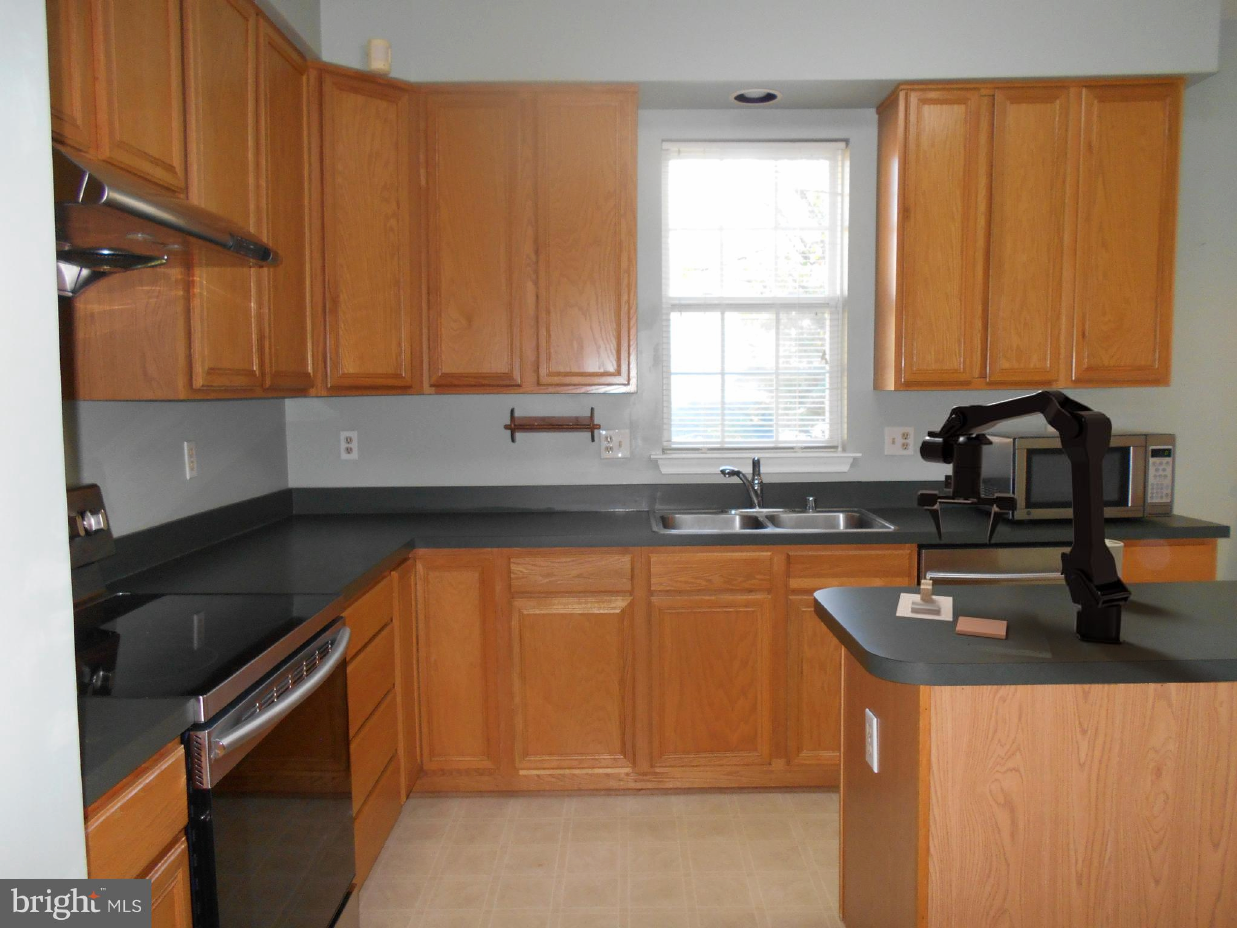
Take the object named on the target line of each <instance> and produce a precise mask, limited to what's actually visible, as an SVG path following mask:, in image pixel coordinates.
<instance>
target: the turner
mask: <svg viewBox="0 0 1237 928" xmlns="http://www.w3.org/2000/svg"><path fill="white" fill-rule="evenodd" d="M932 592H933V580H928V579H921V583H920V593H919V595H920V600H914V599H912V604H911V612H916V613H927V614H938V615H939V602H938V601H931V599H932V596H933V593H932Z"/></svg>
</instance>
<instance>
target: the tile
mask: <svg viewBox="0 0 1237 928" xmlns="http://www.w3.org/2000/svg"><path fill="white" fill-rule="evenodd" d="M1007 625H1008V622H1007V620H998V619H991V618H990V619H989V618H988V619H987V618H981V617H980V618H979V617H969V616H968V617H967V616H959V617H958V621H957V624H956V628H955V634H957V635H958V634H959V635H961V634H962V635H968V636H977V637H985V638H987V637H988V638H996V639H1001V640H1002V639H1003V640H1005V639H1006V636H1007V635H1006V633H1007Z"/></svg>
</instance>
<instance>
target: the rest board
mask: <svg viewBox="0 0 1237 928" xmlns="http://www.w3.org/2000/svg"><path fill="white" fill-rule="evenodd" d="M912 599H914V600H920V594H915V593H905V592H901V593H900V597H899V600H898V605H897V608H896V614H895V617H903V618H914V619H915V618H916V619H917V618H918V619H926V620H937V621H947V622H953V596H943V595H942V596H941V595H940V596H938V595H932V599H931V601H938V602H939V615H938V614H927V613H916V612H911V604H912Z"/></svg>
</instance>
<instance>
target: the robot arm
mask: <svg viewBox="0 0 1237 928" xmlns="http://www.w3.org/2000/svg"><path fill="white" fill-rule="evenodd" d="M1040 414H1042V416H1043V417H1044V419H1045V421H1046V422H1047V425H1049V426H1050V427H1051V428H1052V429H1054V430H1055V431H1057V432H1058V436H1059V441H1060V442H1059V443H1060V446H1061V449H1062V450H1063V452H1064V454H1065V456H1066V457H1067V459H1068V461H1069V462H1070V476H1071V478H1070V479H1071V481H1070V482H1071V503H1072V508H1071V509H1072V531H1073V543H1072V545H1071V547H1070V550H1067V551H1061V552H1060V561H1061V571H1060V576H1063V580H1064V583H1065V585H1066V586H1067V587H1068V590H1069V595H1070V598H1071V601H1072V602H1071V603H1072V604H1074V605H1075V604H1077V605H1078V607H1075V608H1074V621H1073V622H1074V623H1073V630H1074V633H1075V634H1076V635H1077V636H1078V638H1079V640H1080V641H1087V642H1098V643H1106V644H1107V643H1110V644H1119V645H1120V644H1121V645H1122V644H1123V639H1122V638H1121V633H1122V614H1123V613H1122V611H1123V606H1122V605H1121V604H1128V603H1129V601H1130V600H1131V597H1132V596H1133V595H1132V594H1133V593H1132V591H1131V589H1130V588H1128V586H1127V585H1126V584H1125V583H1124V581H1123V580H1122V578H1121V579H1120V577H1119V576H1118V573H1117V568H1116V564H1115V559H1114V556H1113V555H1112V553H1111V551H1110V550H1109V548H1108V546H1107V545H1106V542H1105V539H1106V533H1105V531H1106V530H1105V507H1104V505H1105V503H1104V481H1103V480H1104V477H1103V460H1104V458H1105V456H1106V454H1107V453H1108V450H1109V448H1110V445H1111V440H1112V434H1113V433H1112V431H1113V423H1112V420H1111V419H1110V417H1108V416H1107V414H1105V413H1104V412H1101V411H1096V410H1094V409H1093V408H1091V407H1089V406H1088V405H1086V404H1083V403H1082V402H1079V401H1078V400H1075V399H1074V398H1071V397H1070V396H1069V395H1068V394H1066V393H1064V392H1063V391H1061V390H1059V389H1046V390H1045V389H1044V390H1039V391H1037V392H1036V393H1031V394H1027V395H1022V396H1019V397H1013V398H1010V399H1006V400H1002V401H998V402H993V403H990V404H964V405H963V404H962V405H954V406H953V407H952V408H951V409H950V413H949V415H948V417H947V419H946V420H945V421H944V423H943V425H942V427H940V430H928V431H927V433H926V435H927V436H926V437H925V438H924V439H923V440H922V442H921V444H920V446H919V455H920V458H921V459H922V460H923V461H924V462H926V463H932V464H933V463H935V464H941V465H943V464H944V465H951V464H952V466H951V474H945V475H944V484H943V485H944V488H943V490H944V491H946V492H947V491H948V492H950V494H939V490H925V489H923V490H919V492H917V499H916V502H917V504H916V505H917V507H920V508H923V511H924V512H929V515H930V517H931V519H932V521H933V524H934V527H935V530H936V533H937V536H938V539H939V542H942V540H943V529H942V521H941V512H940V505H943V504H945V505H963V506H964V505H965V506H966V505H967V506H984V507H985V506H986V507H992V509H991V516H990V523H989V527H988V533H987V544H988V545H989V544H990V545H991V542H992V540H993V538H994V534H995V533H996V531H997V528H998V525H999V524H1000V522H1001V521H1002V519H1003V518H1004V516H1009V515H1010V512H1017V510H1018V499H1017V497H1016V496H1015V494H1014V493H994V496H982V486H983V466H984V465H983V464H984V463H983V460H984V447H985V446H992V445H993V444H994V442H993V441H992V440H991V439H990V438H989V437H988V436H987V434H986V433H984V432H986V431H988V430H991V429H992V428H995V427H996V426H997V425H999V424H1001V423H1004V422H1008V421H1013V420H1018V419H1023V418H1026V417H1027V418H1028V417H1031V416H1038V415H1040ZM1099 592H1100V594H1099Z"/></svg>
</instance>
